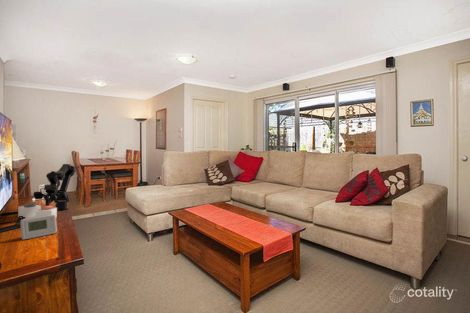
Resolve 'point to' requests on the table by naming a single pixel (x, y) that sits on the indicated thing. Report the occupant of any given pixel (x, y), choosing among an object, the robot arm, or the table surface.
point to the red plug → (46, 207)
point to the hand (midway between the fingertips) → (46, 205)
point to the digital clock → (38, 226)
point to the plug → (30, 205)
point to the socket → (28, 211)
